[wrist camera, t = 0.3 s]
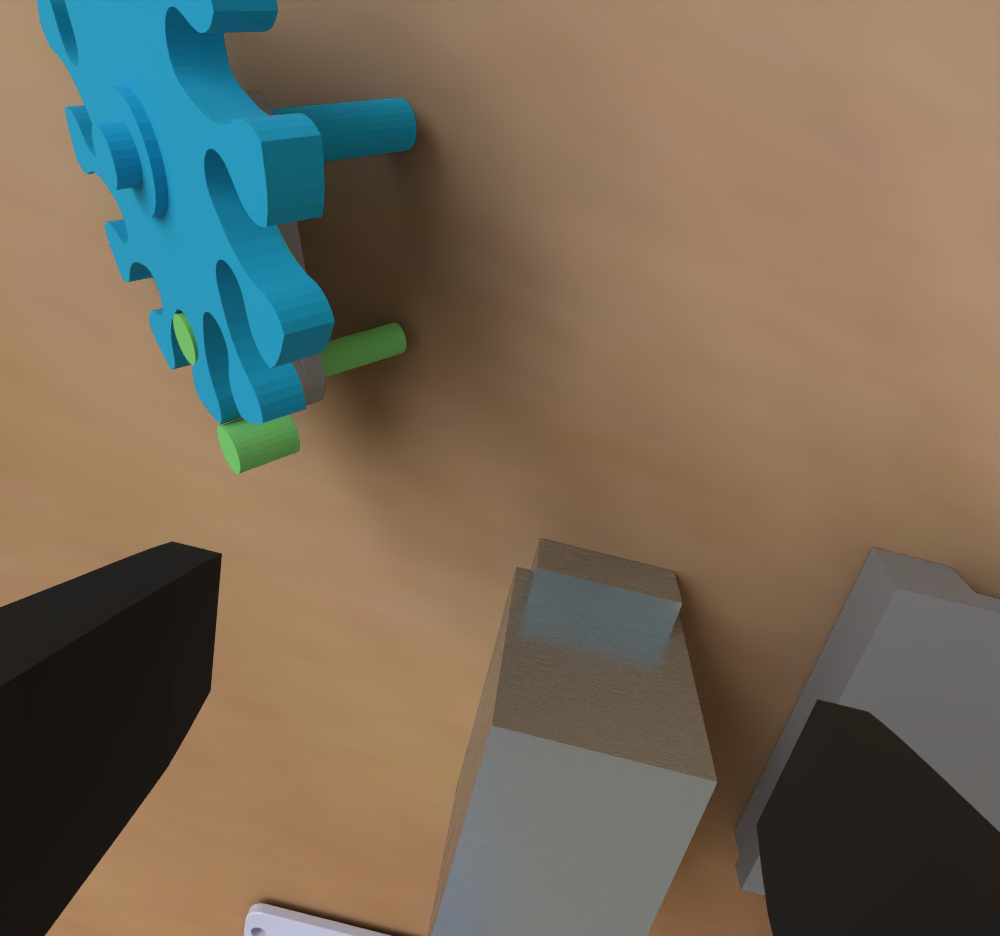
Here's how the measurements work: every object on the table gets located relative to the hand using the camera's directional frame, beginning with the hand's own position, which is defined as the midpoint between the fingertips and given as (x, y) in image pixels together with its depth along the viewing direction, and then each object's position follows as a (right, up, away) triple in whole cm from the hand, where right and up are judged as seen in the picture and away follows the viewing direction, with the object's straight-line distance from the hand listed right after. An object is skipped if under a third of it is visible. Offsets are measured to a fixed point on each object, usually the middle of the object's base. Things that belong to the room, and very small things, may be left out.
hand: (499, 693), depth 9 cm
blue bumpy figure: (-5, +9, +8) cm, 13 cm away
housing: (+2, -4, +12) cm, 13 cm away
